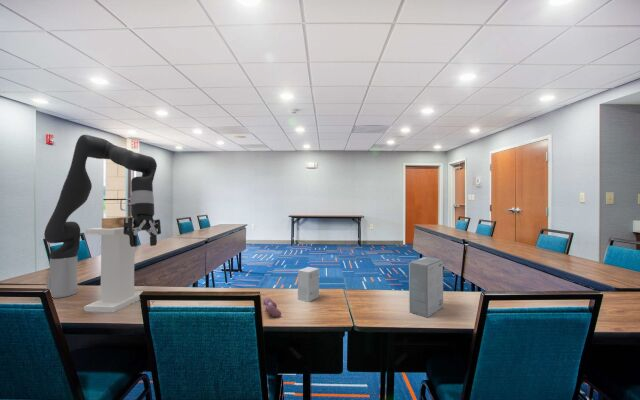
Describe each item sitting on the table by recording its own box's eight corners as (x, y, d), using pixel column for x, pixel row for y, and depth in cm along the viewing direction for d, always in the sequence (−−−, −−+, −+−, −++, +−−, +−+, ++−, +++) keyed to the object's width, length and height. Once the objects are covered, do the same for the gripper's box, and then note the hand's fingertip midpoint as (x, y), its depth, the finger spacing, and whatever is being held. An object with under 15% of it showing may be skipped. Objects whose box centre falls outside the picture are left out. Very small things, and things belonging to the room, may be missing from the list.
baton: (144, 223, 132) (144, 215, 132) (152, 223, 131) (152, 215, 131) (101, 228, 108) (101, 218, 108) (111, 228, 107) (111, 218, 107)
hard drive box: (425, 302, 117) (425, 256, 117) (443, 307, 112) (444, 259, 112) (408, 312, 106) (408, 261, 106) (427, 318, 101) (427, 265, 101)
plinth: (121, 295, 123) (122, 225, 123) (146, 296, 122) (147, 225, 122) (84, 311, 105) (85, 229, 105) (113, 312, 104) (114, 229, 104)
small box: (308, 294, 126) (308, 266, 126) (319, 297, 122) (319, 268, 123) (297, 299, 119) (297, 269, 119) (308, 302, 116) (309, 272, 116)
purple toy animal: (267, 312, 109) (259, 297, 108) (277, 306, 110) (269, 291, 109) (271, 322, 100) (263, 307, 98) (282, 315, 101) (274, 300, 100)
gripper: (149, 207, 111) (151, 246, 109) (117, 203, 98) (117, 248, 95) (165, 204, 110) (167, 244, 107) (134, 199, 96) (135, 245, 93)
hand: (143, 246), depth 101 cm, fingers open, 8 cm apart
